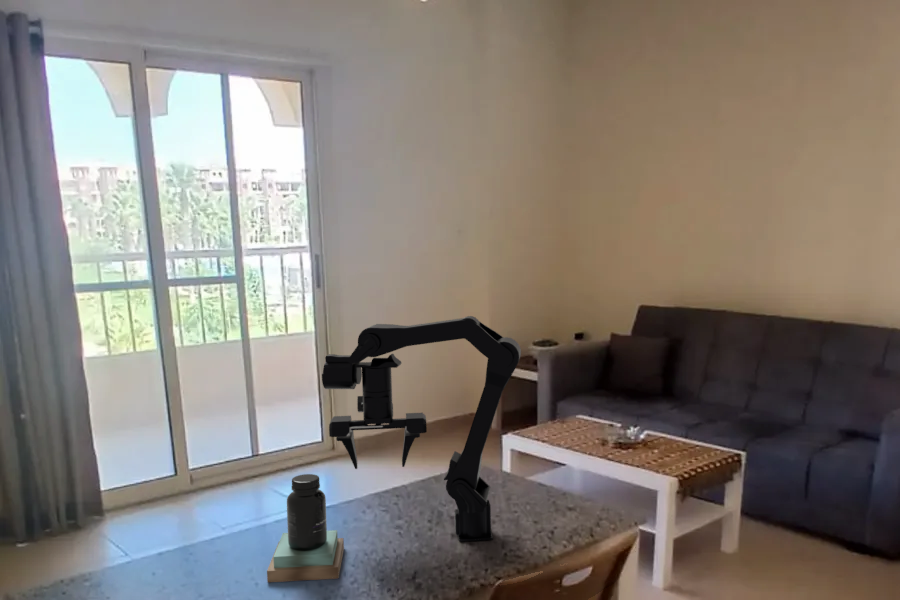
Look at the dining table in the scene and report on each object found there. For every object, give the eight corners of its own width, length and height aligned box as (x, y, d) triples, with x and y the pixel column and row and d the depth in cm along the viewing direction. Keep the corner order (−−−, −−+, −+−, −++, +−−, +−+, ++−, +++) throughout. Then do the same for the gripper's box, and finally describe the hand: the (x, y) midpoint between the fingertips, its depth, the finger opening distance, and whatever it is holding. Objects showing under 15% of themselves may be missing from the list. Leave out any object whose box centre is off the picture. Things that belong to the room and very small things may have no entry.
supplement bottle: (327, 550, 125) (324, 483, 124) (287, 553, 124) (284, 486, 122) (327, 534, 131) (325, 470, 130) (289, 537, 130) (286, 473, 129)
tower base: (343, 548, 134) (343, 527, 134) (338, 578, 122) (337, 555, 122) (279, 551, 134) (278, 531, 133) (267, 582, 122) (266, 559, 121)
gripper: (423, 379, 148) (425, 453, 149) (332, 382, 147) (335, 457, 148) (425, 390, 137) (427, 470, 138) (327, 394, 136) (330, 474, 137)
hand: (379, 467), depth 141 cm, fingers open, 9 cm apart
